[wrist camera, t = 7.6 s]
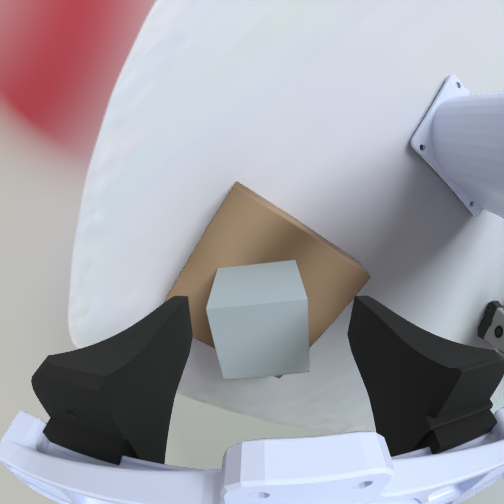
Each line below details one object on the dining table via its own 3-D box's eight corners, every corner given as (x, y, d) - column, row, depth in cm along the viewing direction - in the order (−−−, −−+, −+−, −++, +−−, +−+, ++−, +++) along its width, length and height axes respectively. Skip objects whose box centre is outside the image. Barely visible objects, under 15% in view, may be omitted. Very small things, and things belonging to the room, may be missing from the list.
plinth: (359, 263, 21) (370, 277, 19) (277, 359, 25) (279, 378, 22) (236, 181, 19) (233, 186, 17) (165, 300, 23) (156, 316, 20)
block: (295, 259, 19) (307, 298, 14) (299, 324, 20) (309, 371, 16) (217, 268, 19) (205, 308, 14) (229, 330, 21) (223, 379, 16)
